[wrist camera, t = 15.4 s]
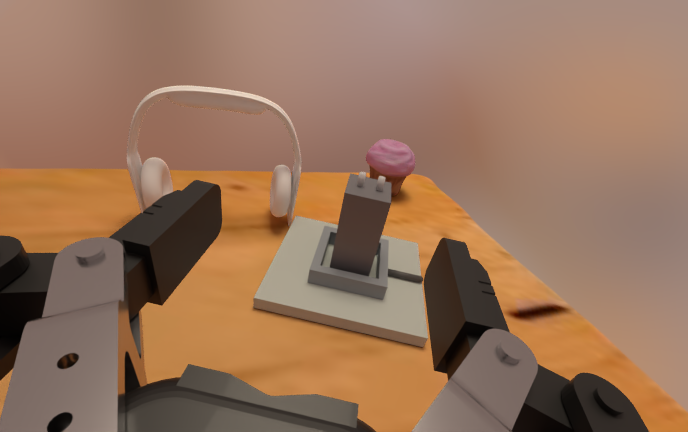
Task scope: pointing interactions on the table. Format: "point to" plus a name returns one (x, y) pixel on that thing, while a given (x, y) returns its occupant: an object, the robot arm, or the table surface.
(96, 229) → the table surface
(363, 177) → the charger block
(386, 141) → the cupcake
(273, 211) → the headset
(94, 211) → the table surface
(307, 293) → the charging dock
